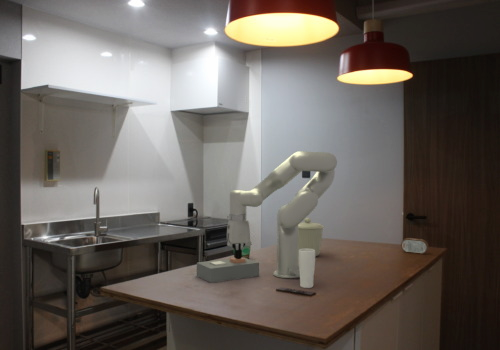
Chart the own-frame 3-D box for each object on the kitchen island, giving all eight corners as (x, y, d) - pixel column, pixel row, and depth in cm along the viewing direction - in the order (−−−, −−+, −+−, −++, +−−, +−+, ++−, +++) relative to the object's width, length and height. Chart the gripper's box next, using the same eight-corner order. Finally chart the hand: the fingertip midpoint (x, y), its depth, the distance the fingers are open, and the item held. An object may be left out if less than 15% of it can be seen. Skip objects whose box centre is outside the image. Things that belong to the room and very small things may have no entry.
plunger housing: (259, 276, 199) (259, 262, 199) (210, 282, 186) (210, 268, 186) (243, 270, 211) (243, 257, 211) (196, 276, 198) (196, 262, 198)
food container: (241, 263, 227) (241, 243, 227) (232, 261, 230) (232, 242, 230) (256, 259, 236) (256, 240, 236) (247, 257, 240) (247, 239, 240)
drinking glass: (310, 289, 177) (311, 252, 176) (295, 287, 180) (295, 250, 180) (317, 286, 182) (318, 249, 182) (302, 283, 186) (302, 247, 186)
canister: (330, 256, 245) (331, 218, 245) (305, 260, 235) (306, 220, 235) (308, 251, 260) (308, 215, 260) (284, 254, 250) (284, 217, 250)
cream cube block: (225, 275, 195) (226, 263, 195) (215, 277, 193) (215, 264, 192) (220, 273, 200) (220, 261, 200) (210, 274, 197) (210, 262, 197)
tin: (428, 254, 255) (429, 239, 254) (427, 255, 252) (427, 240, 252) (401, 251, 263) (401, 237, 262) (400, 252, 260) (400, 237, 260)
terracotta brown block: (245, 271, 200) (245, 258, 200) (235, 272, 198) (235, 260, 198) (239, 268, 205) (239, 257, 205) (229, 270, 202) (229, 258, 202)
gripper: (227, 219, 194) (227, 261, 194) (256, 217, 202) (256, 258, 202) (219, 217, 200) (219, 258, 201) (247, 216, 208) (248, 255, 208)
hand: (238, 258), depth 201 cm, fingers closed
